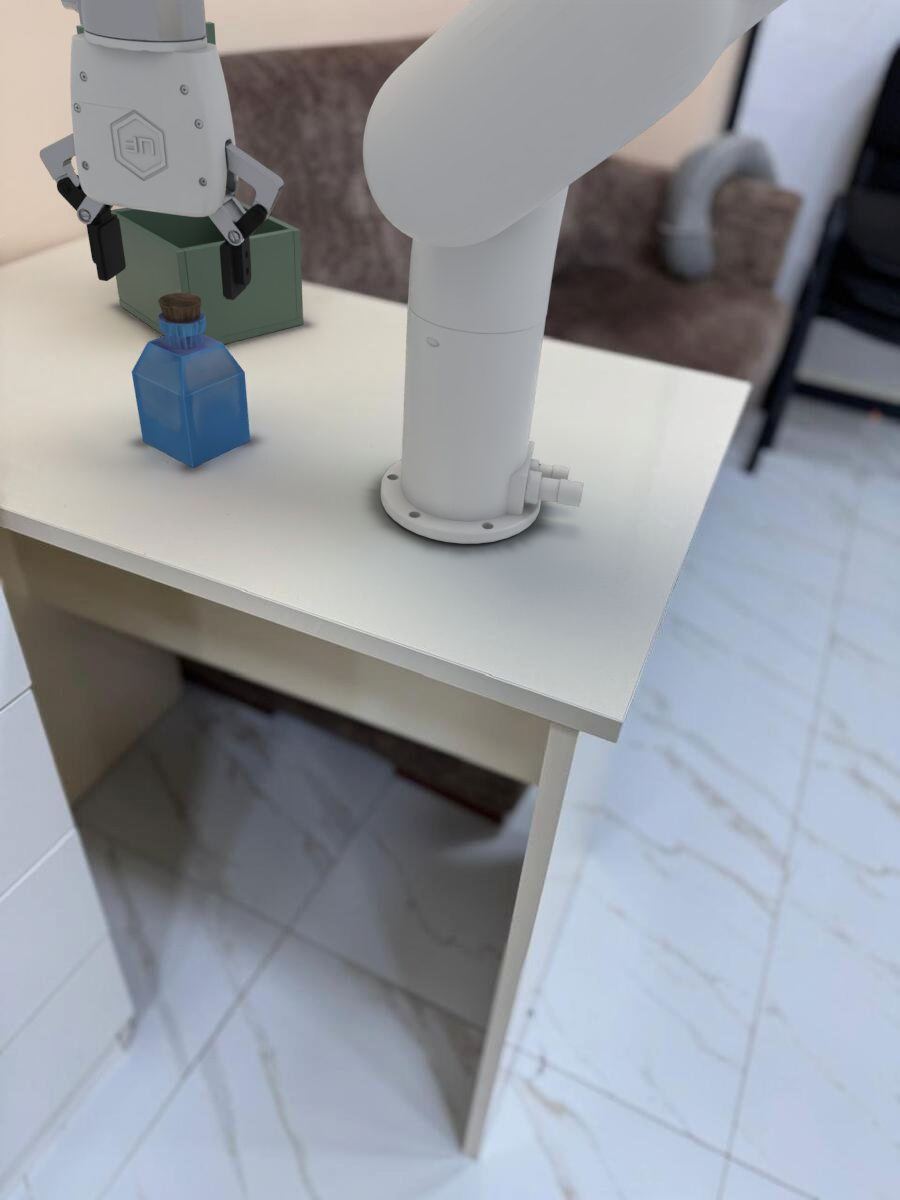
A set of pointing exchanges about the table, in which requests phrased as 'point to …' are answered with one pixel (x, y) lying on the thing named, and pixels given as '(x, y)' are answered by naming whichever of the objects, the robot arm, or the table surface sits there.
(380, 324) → the table surface
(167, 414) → the perfume bottle
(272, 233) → the chest
